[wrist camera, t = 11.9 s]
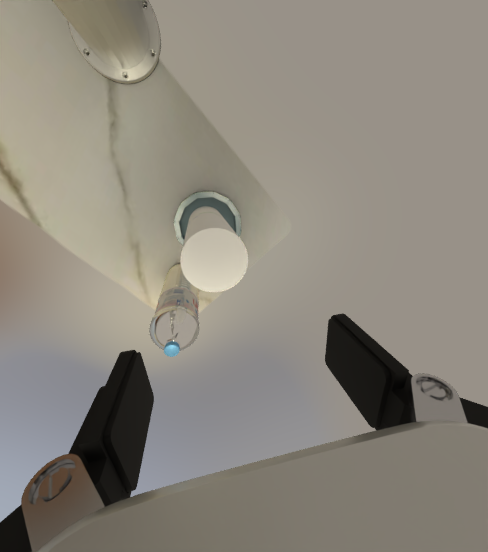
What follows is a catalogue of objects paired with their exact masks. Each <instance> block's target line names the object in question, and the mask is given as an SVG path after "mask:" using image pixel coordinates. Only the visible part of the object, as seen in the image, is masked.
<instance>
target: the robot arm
mask: <svg viewBox="0 0 488 552" xmlns="http://www.w3.org/2000/svg"><path fill="white" fill-rule="evenodd" d="M52 1H53V2H54V3H55V5H56V6H57V7H58V8H59V10H60V11H61V12H62V13H63V15H64V16H65V17H66V18H67V20H68V25H69V29H70V32H71V35H72V38H73V40H74V42H75V44H76V46H77V48H78V49H79V51H80V52H81V54H82V55H83V57H84V58H85V59H86V60H87V62H88V63H89V64H90V65H91V66H92V67H93V68H94V69H95V70H96V71H97V72H99V73H100V74H102V75H103V76H104V77H106V78H108V79H110V80H112V81H115V82H119V83H124V84H132V83H137V82H139V81H142V80H144V79H145V78H146V77H148V76H149V75H150V74H151V73H152V71H153V70H154V69H155V67H156V65H157V62H158V59H159V55H160V49H161V48H160V47H161V39H160V31H159V26H158V22H157V19H156V16H155V13H154V11H153V9H152V7H151V4H150V3H149V1H148V0H52ZM144 7H147V8H146V9H145V8H144ZM88 53H90V55H89V56H88V55H87V54H88ZM152 54H154V55H155V56H154V57H152ZM125 76H128V78H127V79H125ZM325 362H326V365H327V366H328V368H329V369H330V371H331V372H332V374H333V375H334V376H335V378H336V379H337V380H338V382H339V383H340V385H341V386H342V387H343V389H344V390H345V392H346V393H347V394H348V396H349V397H350V399H351V400H352V401H353V403H354V404H355V406H356V407H357V408H358V410H359V411H360V413H361V414H362V415H363V417H364V418H365V420H366V421H367V422H368V424H369V425H370V426H371V427H373V428H375V429H376V430H377V431H373V432H369V433H366V434H361V435H358V436H353V437H349V438H345V439H342V440H338V441H334V442H330V443H326V444H322V445H318V446H314V447H311V448H307V449H303V450H299V451H296V452H292V453H288V454H284V455H281V456H277V457H273V458H269V459H265V460H261V461H257V462H254V463H250V464H247V465H243V466H239V467H235V468H231V469H228V470H224V471H220V472H216V473H213V474H209V475H206V476H202V477H198V478H194V479H190V480H187V481H183V482H180V483H176V484H173V485H169V486H166V487H162V488H159V489H155V490H152V491H149V492H145V493H142V494H138V495H136V496H133V497H130V495H131V491H133V490H135V489H136V487H137V483H138V477H139V473H140V468H141V463H142V457H143V452H144V447H145V443H146V437H147V432H148V427H149V422H150V416H151V412H152V407H153V402H154V396H153V392H152V389H151V385H150V382H149V379H148V376H147V372H146V369H145V366H144V362H143V359H142V356H141V353H140V352H138V353H137V352H136V351H135V350H130V351H125V352H121V353H120V354H119V357H118V359H117V361H116V363H115V366H114V368H113V370H112V372H111V374H110V376H109V379H108V381H107V384H106V385H105V386H103V387H101V388H100V389H99V391H98V393H97V395H96V397H95V399H94V401H93V403H92V405H91V408H90V410H89V412H88V414H87V416H86V418H85V420H84V422H83V425H82V426H81V429H80V431H79V433H78V435H77V437H76V439H75V441H74V443H73V446H72V447H71V450H70V452H69V454H66V455H62V456H60V457H57V458H55V459H54V460H52V461H50V462H49V463H47V464H46V465H45V466H44V467H42V468H41V469H40V470H39V471H38V472H37V473H36V474H35V475H34V477H33V478H32V479H31V480H30V482H29V483H28V485H27V487H26V488H25V490H24V493H23V495H22V501H21V505H20V506H19V507H18V508H17V509H15V511H13V512H12V513H11V514H10V515H8V516H7V517H6V518H5V519H4V520H3V521H2V522H0V552H488V407H486V406H483V405H480V404H477V403H474V402H471V401H468V400H466V399H463V398H460V397H459V395H458V393H457V392H456V390H455V389H454V388H453V387H452V386H451V385H450V384H448V383H447V382H446V381H444V380H442V379H440V378H438V377H436V376H433V375H430V374H424V373H422V374H416V375H414V376H412V375H411V374H410V373H409V370H408V369H406V368H405V367H404V366H403V365H402V364H401V363H399V361H397V360H396V359H395V358H394V357H393V356H392V355H391V354H389V353H388V352H387V351H386V350H385V349H384V348H383V347H381V346H380V345H379V344H378V343H377V342H376V341H375V340H374V339H372V338H371V337H370V336H369V335H368V334H367V333H365V332H364V331H363V330H362V329H361V328H360V327H359V326H358V325H357V324H355V323H354V322H353V321H352V320H351V319H350V318H348V317H347V316H346V315H345V314H338V315H333V316H332V317H331V319H329V323H328V333H327V344H326V355H325Z"/></svg>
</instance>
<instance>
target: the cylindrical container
mask: <svg viewBox="0 0 488 552" xmlns="http://www.w3.org/2000/svg"><path fill="white" fill-rule="evenodd" d="M180 262H181V268H182V272H183V274H184V276H185V277H186V279H187V280H188V281H189V282H190V283H191V284H192V285H193V286H195V287H196V288H198V289H200V290H203V291H207V292H221V291H225V290H227V289H230V288H232V287H233V286H234V285H236V284H237V283H238V282H239V281H240V280H241V279H242V278H243V276H244V274H245V272H246V270H247V266H248V253H247V250H246V247H245V245H244V243H243V242H242V240H241V239H240V238H239V237H238V235H237V234H236V233H235V231H234V230H233V229H232V228H231V226H230V225H229V224H228V223H227V221H226V220H225V219H224V218H223V216H222V215H221V214H220V213H219V212H218V211H217V210H216V209H215V208H212V207H209V206H202V207H199V208H197V209H196V210H194V211H193V212H192V214H191V215H190V218H189V222H188V226H187V230H186V235H185V239H184V243H183V248H182V252H181V258H180Z"/></svg>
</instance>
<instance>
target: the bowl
mask: <svg viewBox="0 0 488 552" xmlns="http://www.w3.org/2000/svg"><path fill="white" fill-rule="evenodd" d="M202 206H209V207H212V208H215V209H216V210H217V211H218V212H219V213H220V214H221V215H222V216H223V218H224V219H225V220H226V221H227V223H228V224H229V225H230V226H231V228H232V229H233V230H234V231H235V233H236V234H237V235H238V237H239V236H240V234H241V220H240V215H239V212H238V211H237V209H236V208H235V206H234V205H233V203H232V202H231V200H230V199H228V198H226V197H224V196H222V195H220V194H218V193H216V192H214V191H205V192H196V194H195V193H193V194H192V195H191V196H189V197H188V198H187V199H185V200H184V201H183V202H181V204H180V205H179V208H178V210H177V213H176V216H175V218H174V227H175V232H176V238H178V239H177V240H178V241H179V242H180V243H181V245H182V246H183V243H184V239H185V235H186V230H187V226H188V222H189V218H190V215H191V214H192V212H193V211H194V210H196V209H197V208H199V207H202Z"/></svg>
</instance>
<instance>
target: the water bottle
mask: <svg viewBox="0 0 488 552" xmlns="http://www.w3.org/2000/svg"><path fill="white" fill-rule="evenodd" d="M198 306H199V289H198V288H196V287H195V286H193V285H192V284H191V283H190V282H189V281H188V280H187V279H186V277H185V276H184V274H183V272H182V268H181V264H177V265H174V266H173V267H172V268H171V269H170V270H169V271H168V273H167V276H166V279H165V282H164V285H163V288H162V291H161V294H160V297H159V300H158V305H157V308H156V312H155V315H154V317H153V318H152V321H151V324H150V328H149V332H150V336H151V339H152V341H153V342H154V343H155V344H156V345H157V346H158V347H159V348H161V349H163V350H164V353H165V354H166V355H167V356H170V357H173V356H176V355H177V354H178V353H179V351H181V350H184V349H185V348H187V347H189V346H190V345H191V344H192V343H194V341H195V340H196V338H197V336H198V334H199V321H198Z"/></svg>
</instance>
